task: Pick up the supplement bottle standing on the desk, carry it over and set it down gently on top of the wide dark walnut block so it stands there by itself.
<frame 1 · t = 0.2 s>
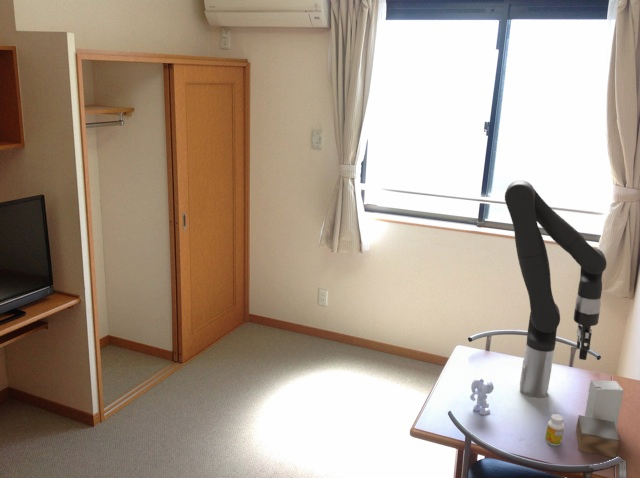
hand: (581, 353, 200), 17 cm above the table, tool pointing down, fingers open, 8 cm apart
supplement bottle: (553, 442, 180), on the table
walnut block: (594, 444, 179), on the table
skincare box: (599, 426, 189), on the table
toy figurine: (480, 412, 194), on the table
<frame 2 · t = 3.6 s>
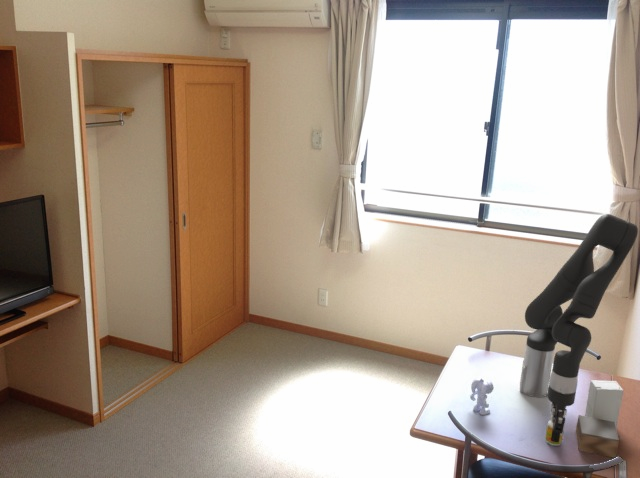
hand: (554, 436, 179), 2 cm above the table, tool pointing down, fingers closed on supplement bottle, 4 cm apart
supplement bottle: (553, 442, 180), on the table, touching gripper
everything else where it was.
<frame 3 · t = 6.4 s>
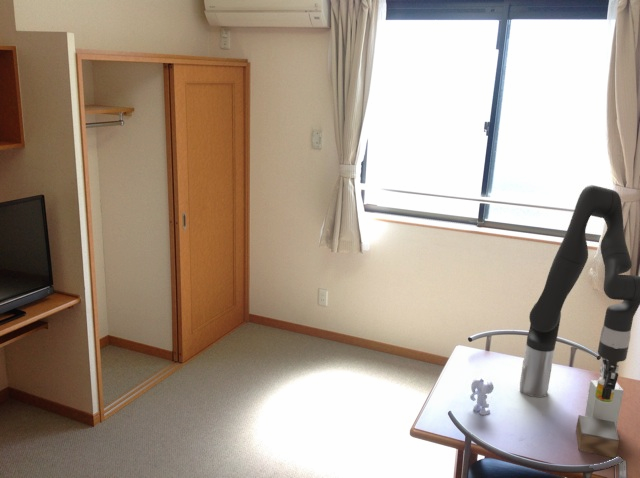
hand: (604, 394, 175), 17 cm above the table, tool pointing down, fingers closed on supplement bottle, 4 cm apart
supplement bottle: (603, 400, 175), point 15 cm above the table, touching gripper
everything else where it was.
when the fingers open (8 cm above the table, at t = 9.1 s): supplement bottle stays where it is, resting on walnut block.
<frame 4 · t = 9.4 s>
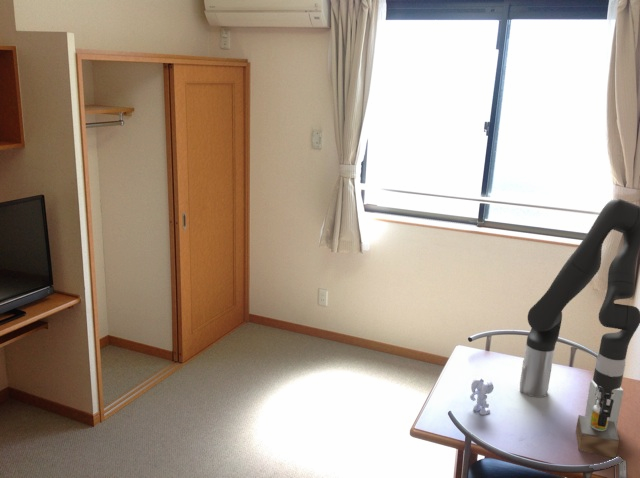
hand: (599, 419, 177), 9 cm above the table, tool pointing down, fingers open, 6 cm apart
supplement bottle: (598, 427, 178), point 6 cm above the table, touching walnut block
everything else where it was.
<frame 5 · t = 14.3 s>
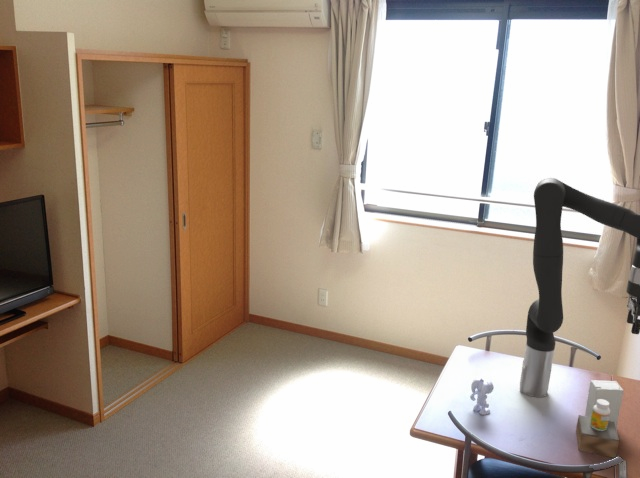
hand: (632, 328, 189), 30 cm above the table, tool pointing down, fingers open, 8 cm apart
nothing on the table moved.
at the end: supplement bottle inside the target area on the walnut block (0.1 cm from its centre), point 5.8 cm above the walnut block's base; supplement bottle tilted 0°; the gripper is holding nothing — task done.
